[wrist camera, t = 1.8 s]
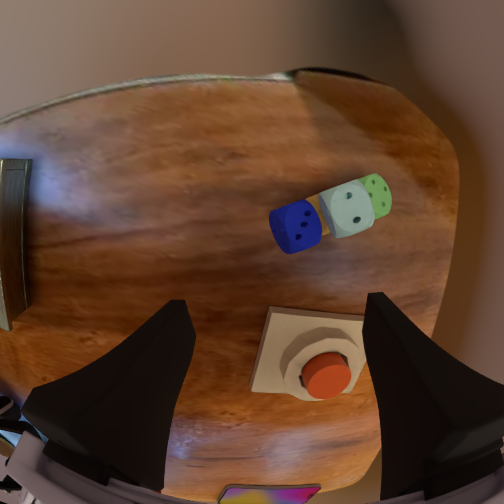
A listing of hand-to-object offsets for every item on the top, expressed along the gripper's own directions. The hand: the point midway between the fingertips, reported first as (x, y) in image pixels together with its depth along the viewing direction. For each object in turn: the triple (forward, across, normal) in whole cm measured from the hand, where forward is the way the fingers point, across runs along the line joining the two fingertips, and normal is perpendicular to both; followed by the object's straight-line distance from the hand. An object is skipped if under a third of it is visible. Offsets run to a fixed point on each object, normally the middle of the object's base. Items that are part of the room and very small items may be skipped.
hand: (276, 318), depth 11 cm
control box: (+8, -2, +12) cm, 15 cm away
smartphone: (0, +10, +36) cm, 37 cm away
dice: (+5, -4, -2) cm, 7 cm away
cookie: (-11, +52, +35) cm, 63 cm away
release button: (+6, -3, +11) cm, 13 cm away
